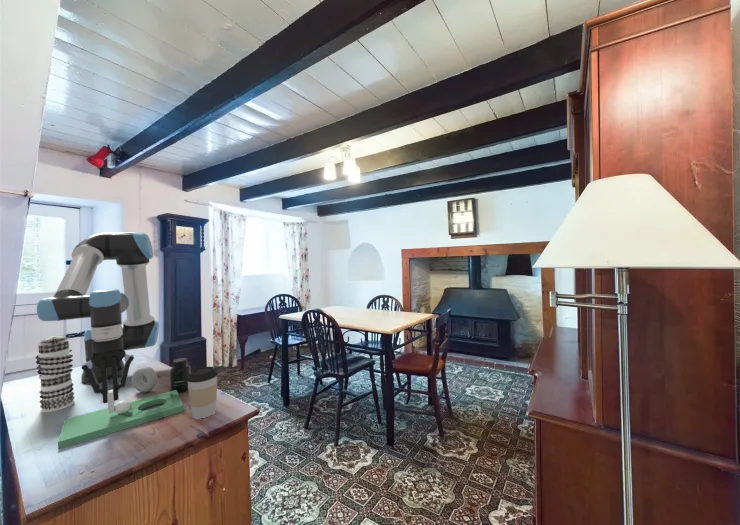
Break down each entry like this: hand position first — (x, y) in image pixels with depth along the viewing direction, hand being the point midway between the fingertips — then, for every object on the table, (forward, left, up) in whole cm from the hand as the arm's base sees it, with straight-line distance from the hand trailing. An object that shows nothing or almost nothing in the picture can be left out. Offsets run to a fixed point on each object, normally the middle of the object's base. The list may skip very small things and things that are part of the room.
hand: (111, 411), depth 98 cm
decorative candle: (-28, -15, -4) cm, 32 cm away
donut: (-20, +10, -4) cm, 23 cm away
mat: (0, +4, -4) cm, 5 cm away
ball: (0, +3, 0) cm, 3 cm away
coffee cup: (+15, +24, -4) cm, 28 cm away
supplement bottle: (-12, +21, -4) cm, 24 cm away
